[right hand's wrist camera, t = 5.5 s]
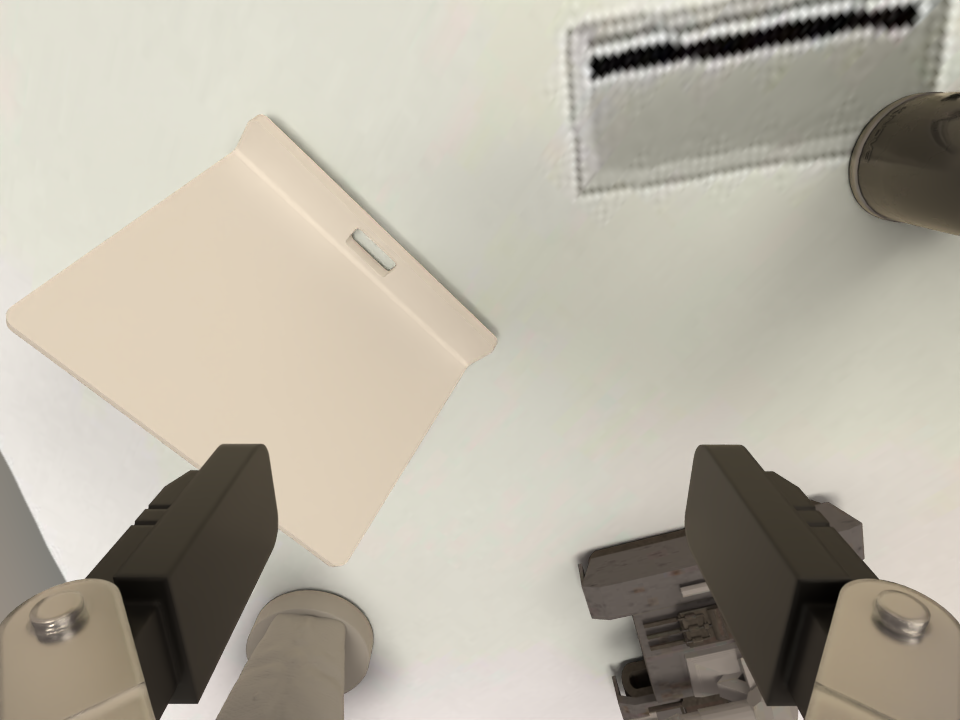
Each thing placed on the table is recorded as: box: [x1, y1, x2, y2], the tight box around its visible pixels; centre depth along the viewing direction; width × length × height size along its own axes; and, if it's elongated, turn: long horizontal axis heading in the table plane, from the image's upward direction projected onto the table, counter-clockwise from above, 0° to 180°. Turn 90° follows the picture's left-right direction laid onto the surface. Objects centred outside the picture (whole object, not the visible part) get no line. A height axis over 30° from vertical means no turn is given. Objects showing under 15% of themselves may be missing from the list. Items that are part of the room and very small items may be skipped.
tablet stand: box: [6, 115, 497, 567], centre depth 43 cm, size 18×25×17 cm
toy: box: [578, 500, 864, 720], centre depth 55 cm, size 25×20×15 cm
